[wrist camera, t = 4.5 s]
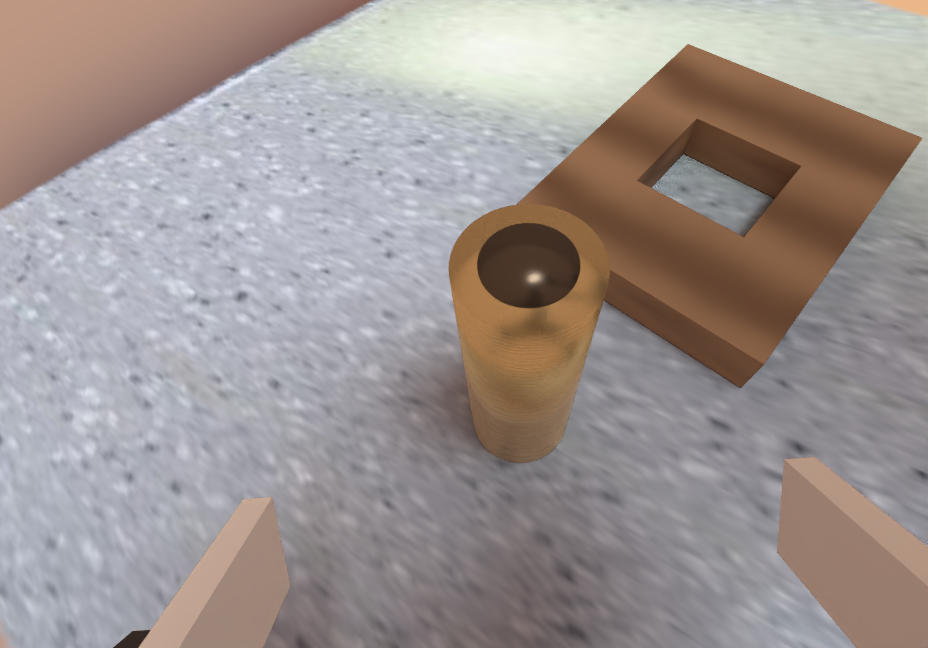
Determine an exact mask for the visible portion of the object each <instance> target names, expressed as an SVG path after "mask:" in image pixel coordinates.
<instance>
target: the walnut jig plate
mask: <svg viewBox="0 0 928 648" xmlns="http://www.w3.org/2000/svg"><path fill="white" fill-rule="evenodd" d="M921 139H922V138H921V137H919V136H916V135H914V134H911V133H909V132H906V131H904V130H901V129H899V128H896V127H894V126H891V125H889V124H886V123H884V122H881V121H879V120H876V119H874V118H871V117H869V116H866V115H864V114H861V113H859V112H856V111H854V110H851V109H849V108H846V107H844V106H841V105H839V104H836V103H834V102H831V101H829V100H826V99H824V98H821V97H819V96H816V95H814V94H811V93H809V92H806V91H804V90H801V89H799V88H796V87H794V86H791V85H789V84H786V83H784V82H781V81H779V80H776V79H774V78H771V77H769V76H766V75H764V74H761V73H759V72H756V71H754V70H751V69H749V68H746V67H744V66H741V65H739V64H736V63H734V62H731V61H729V60H726V59H724V58H721V57H719V56H716V55H714V54H711V53H709V52H706V51H704V50H702V49H699V48H697V47H694V46H692V45H689V44H687V45H686V46H685V47H684V48H683V49H682V50H681V51H680V52H679V53H678V54H677V55H676V56H675V57H674V58H673V59H671V60H670V61H669V62H668V63H667V64H666V65H665V66H664V67H663V68H662V69H661V70H660V71H659V72H658V73H657V74H655V75H654V76H653V77H652V78H651V79H650V80H649V81H648V82H647V83H646V84H645V85H644V86H643V87H642V88H640V89H639V90H638V91H637V92H636V93H635V94H634V95H633V96H632V97H631V98H630V99H629V100H628V101H627V102H626V103H624V104H623V105H622V106H621V107H620V108H619V109H618V110H617V111H616V112H615V113H614V114H613V115H612V116H611V117H609V118H608V119H607V120H606V121H605V122H604V123H603V124H602V125H601V126H600V127H599V128H598V129H597V130H596V131H595V132H593V133H592V134H591V135H590V136H589V137H588V138H587V139H586V140H585V141H584V142H583V143H582V144H581V145H580V146H578V147H577V148H576V149H575V150H574V151H573V152H572V153H571V154H570V155H569V156H568V157H567V158H566V159H565V160H564V161H562V162H561V163H560V164H559V165H558V166H557V167H556V168H555V169H554V170H553V171H552V172H551V173H550V174H549V175H547V176H546V177H545V178H544V179H543V180H542V181H541V182H540V183H539V184H538V185H537V186H536V187H535V188H534V189H533V190H531V191H530V192H529V193H528V194H527V195H526V196H525V197H524V198H523V199H522V200H521V201H520V202H519V203H518V204H517V205H519V204H537V205H545V206H550V207H554V208H558V209H561V210H563V211H566V212H568V213H570V214H572V215H574V216H576V217H578V218H579V219H581V220H582V221H583V222H585V223H586V224H587V225H588V226H589V227H591V228H592V230H593V231H594V232H595V233H596V234H597V235H598V237H599V238H600V240H601V241H602V243H603V245H604V247H605V249H606V252H607V255H608V258H609V265H610V276H609V282H608V286H607V289H606V293H605V296H604V300H605V301H606V302H608V303H609V304H611V305H613V306H614V307H616V308H617V309H619V310H620V311H622V312H623V313H625V314H627V315H628V316H630V317H631V318H633V319H634V320H636V321H637V322H639V323H640V324H642V325H644V326H645V327H647V328H648V329H650V330H651V331H653V332H654V333H656V334H658V335H659V336H661V337H662V338H664V339H665V340H667V341H668V342H670V343H671V344H673V345H675V346H676V347H678V348H679V349H681V350H682V351H684V352H685V353H687V354H689V355H690V356H692V357H693V358H695V359H696V360H698V361H699V362H701V363H703V364H704V365H706V366H707V367H709V368H710V369H712V370H713V371H715V372H716V373H718V374H720V375H721V376H723V377H724V378H726V379H727V380H729V381H730V382H732V383H734V384H735V385H737V386H738V387H740V388H741V387H742V386H743V385H744V384H745V383H746V382H747V381H748V380H749V379H750V378H751V377H752V376H753V375H754V374H755V373H756V372H757V371H758V370H759V369H760V368H761V367H762V366H763V365H764V364H765V362H766V361H767V359H768V358H769V356H770V355H771V354H772V352H773V351H774V349H775V348H776V346H777V345H778V344H779V342H780V341H781V339H782V338H783V336H784V335H785V334H786V332H787V331H788V329H789V328H790V326H791V325H792V324H793V322H794V321H795V319H796V318H797V316H798V315H799V314H800V312H801V311H802V309H803V308H804V306H805V305H806V304H807V302H808V301H809V299H810V298H811V297H812V295H813V294H814V292H815V291H816V289H817V288H818V287H819V285H820V284H821V282H822V281H823V279H824V278H825V277H826V275H827V274H828V272H829V271H830V269H831V268H832V267H833V265H834V264H835V262H836V261H837V259H838V258H839V257H840V255H841V254H842V252H843V251H844V249H845V248H846V247H847V245H848V244H849V242H850V241H851V239H852V238H853V237H854V235H855V234H856V232H857V231H858V229H859V228H860V227H861V225H862V224H863V222H864V221H865V219H866V218H867V217H868V215H869V214H870V212H871V211H872V209H873V208H874V207H875V205H876V204H877V202H878V201H879V199H880V198H881V197H882V195H883V194H884V192H885V191H886V189H887V188H888V187H889V185H890V184H891V182H892V181H893V179H894V178H895V177H896V175H897V174H898V172H899V171H900V169H901V168H902V167H903V165H904V164H905V162H906V161H907V159H908V158H909V157H910V155H911V154H912V152H913V151H914V149H915V148H916V147H917V145H918V144H919V142H920V141H921ZM683 154H686V155H688V156H690V157H692V158H694V159H696V160H698V161H700V162H702V163H704V164H706V165H708V166H710V167H712V168H714V169H716V170H718V171H720V172H722V173H724V174H726V175H729V176H731V177H733V178H735V179H737V180H739V181H741V182H743V183H745V184H747V185H749V186H751V187H753V188H755V189H757V190H759V191H761V192H763V193H765V194H767V195H769V196H771V197H774V198H775V199H774V201H773V202H772V203H771V204H770V206H769V207H768V208H767V209H766V211H765V212H764V213H763V214H762V216H761V217H760V218H759V219H758V220H757V222H756V223H755V224H754V225H753V227H752V228H751V229H750V230H749V232H748V233H747V234H746V235H745V237H742V236H740V235H739V234H737V233H735V232H733V231H731V230H729V229H727V228H725V227H724V226H722V225H720V224H718V223H716V222H714V221H712V220H710V219H708V218H707V217H705V216H703V215H701V214H699V213H697V212H695V211H693V210H691V209H690V208H688V207H686V206H684V205H682V204H680V203H678V202H676V201H674V200H673V199H671V198H669V197H667V196H665V195H663V194H661V193H659V192H657V191H656V190H654V189H652V186H653V185H654V184H655V183H656V182H657V181H658V180H659V179H660V178H661V177H662V176H663V175H664V174H665V173H666V172H667V171H668V170H669V169H670V167H671V166H672V165H673V164H674V163H675V162H676V161H677V160H678V159H679V158H680V157H681V156H682V155H683Z"/></svg>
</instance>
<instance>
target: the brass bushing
mask: <svg viewBox="0 0 928 648" xmlns="http://www.w3.org/2000/svg"><path fill="white" fill-rule="evenodd" d="M609 276H610V265H609V258H608V255H607V252H606V249H605V247H604V245H603V243H602V241H601V240H600V238H599V237H598V235H597V234H596V233H595V232H594V231H593V230H592V228H591V227H589V226H588V225H587V224H586V223H585V222H583V221H582V220H581V219H579V218H578V217H576V216H574V215H572V214H570V213H568V212H566V211H563V210H561V209H558V208H554V207H550V206H545V205H537V204H519V205H512V206H507V207H503V208H500V209H497V210H494V211H491V212H489V213H487V214H485V215H483V216H482V217H480V218H478V219H477V220H475V221H474V222H473V223H472V224H470V225H469V226H468V227H467V228H466V229H465V230H464V231H463V232H462V234H461V235H460V237H459V238H458V239H457V241H456V243H455V245H454V247H453V250H452V252H451V256H450V261H449V277H450V284H451V290H452V296H453V302H454V308H455V314H456V320H457V326H458V332H459V338H460V344H461V350H462V356H463V362H464V368H465V375H466V381H467V387H468V393H469V399H470V405H471V411H472V417H473V423H474V428H475V431H476V434H477V436H478V438H479V440H480V441H481V443H482V444H483V445H484V447H485V448H486V449H487V450H488V451H489V452H491V453H492V454H493V455H495V456H497V457H499V458H501V459H503V460H506V461H510V462H516V463H526V462H532V461H536V460H538V459H541V458H543V457H544V456H546V455H548V454H549V453H550V452H551V451H553V450H554V449H555V447H556V446H557V445H558V444H559V442H560V440H561V438H562V437H563V434H564V431H565V428H566V424H567V421H568V418H569V414H570V411H571V407H572V404H573V401H574V397H575V394H576V391H577V387H578V384H579V380H580V377H581V374H582V370H583V367H584V364H585V360H586V357H587V353H588V350H589V347H590V343H591V340H592V337H593V333H594V330H595V327H596V323H597V320H598V316H599V313H600V310H601V306H602V303H603V300H604V296H605V293H606V289H607V286H608V282H609Z"/></svg>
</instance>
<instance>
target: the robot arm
mask: <svg viewBox="0 0 928 648" xmlns="http://www.w3.org/2000/svg"><path fill="white" fill-rule="evenodd" d="M777 553H778V554H779V555H780V556H781V557H782V559H783V560H784V561H785V562H786V563H787V565H788V566H789V567H790V568H791V570H792V571H793V572H794V573H795V574H796V576H797V577H798V578H799V579H800V580H801V582H802V583H803V584H804V585H805V586H806V588H807V589H808V590H809V591H810V592H811V594H812V595H813V596H814V597H815V598H816V600H817V601H818V602H819V603H820V604H821V606H822V607H823V608H824V609H825V610H826V612H827V613H828V614H829V615H830V616H831V618H832V619H833V620H834V621H835V623H836V624H837V625H838V626H839V627H840V629H841V630H842V631H843V632H844V633H845V635H846V636H847V637H848V638H849V639H850V641H851V642H852V643H853V644H854V645H855V647H856V648H928V547H927V546H926V545H925V544H923V543H922V542H921V541H920V540H918V539H917V538H916V537H915V536H913V535H912V534H911V533H910V532H908V531H907V530H906V529H905V528H903V527H902V526H901V525H899V524H898V523H897V522H896V521H894V520H893V519H892V518H891V517H889V516H888V515H887V514H886V513H884V512H883V511H882V510H881V509H879V508H878V507H877V506H876V505H874V504H873V503H872V502H871V501H869V500H868V499H867V498H866V497H864V496H863V495H862V494H861V493H859V492H858V491H857V490H856V489H854V488H853V487H852V486H851V485H849V484H848V483H847V482H846V481H844V480H843V479H842V478H841V477H839V476H838V475H837V474H836V473H834V472H833V471H832V470H831V469H829V468H828V467H827V466H826V465H824V464H823V463H822V462H821V461H819V460H818V459H817V458H816V457H810V458H796V459H784V469H783V482H782V496H781V509H780V522H779V535H778V548H777ZM289 588H290V581H289V576H288V571H287V566H286V561H285V557H284V552H283V547H282V542H281V537H280V532H279V528H278V523H277V518H276V513H275V508H274V503H273V498H272V497H268V498H255V499H243V500H242V502H241V503H240V505H239V506H238V508H237V509H236V510H235V512H234V513H233V515H232V516H231V517H230V519H229V520H228V522H227V523H226V525H225V526H224V527H223V529H222V530H221V532H220V533H219V534H218V536H217V537H216V539H215V540H214V541H213V543H212V544H211V546H210V547H209V549H208V550H207V551H206V553H205V554H204V556H203V557H202V558H201V560H200V561H199V563H198V564H197V566H196V567H195V568H194V570H193V571H192V573H191V574H190V575H189V577H188V578H187V580H186V581H185V583H184V584H183V585H182V587H181V588H180V590H179V591H178V592H177V594H176V595H175V597H174V598H173V600H172V601H171V602H170V604H169V605H168V607H167V608H166V609H165V611H164V612H163V614H162V615H161V617H160V618H159V619H158V621H157V622H156V624H155V625H154V626H153V628H152V629H151V630H144V631H132V632H131V633H130V634H129V635H128V636H126V637H125V638H124V639H123V640H122V641H120V642H119V643H118V644H117V645H116V646H115V647H113V648H263V647H264V645H265V643H266V640H267V638H268V636H269V633H270V631H271V629H272V627H273V624H274V622H275V620H276V618H277V615H278V613H279V611H280V608H281V606H282V604H283V602H284V599H285V597H286V595H287V592H288V590H289Z"/></svg>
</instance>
